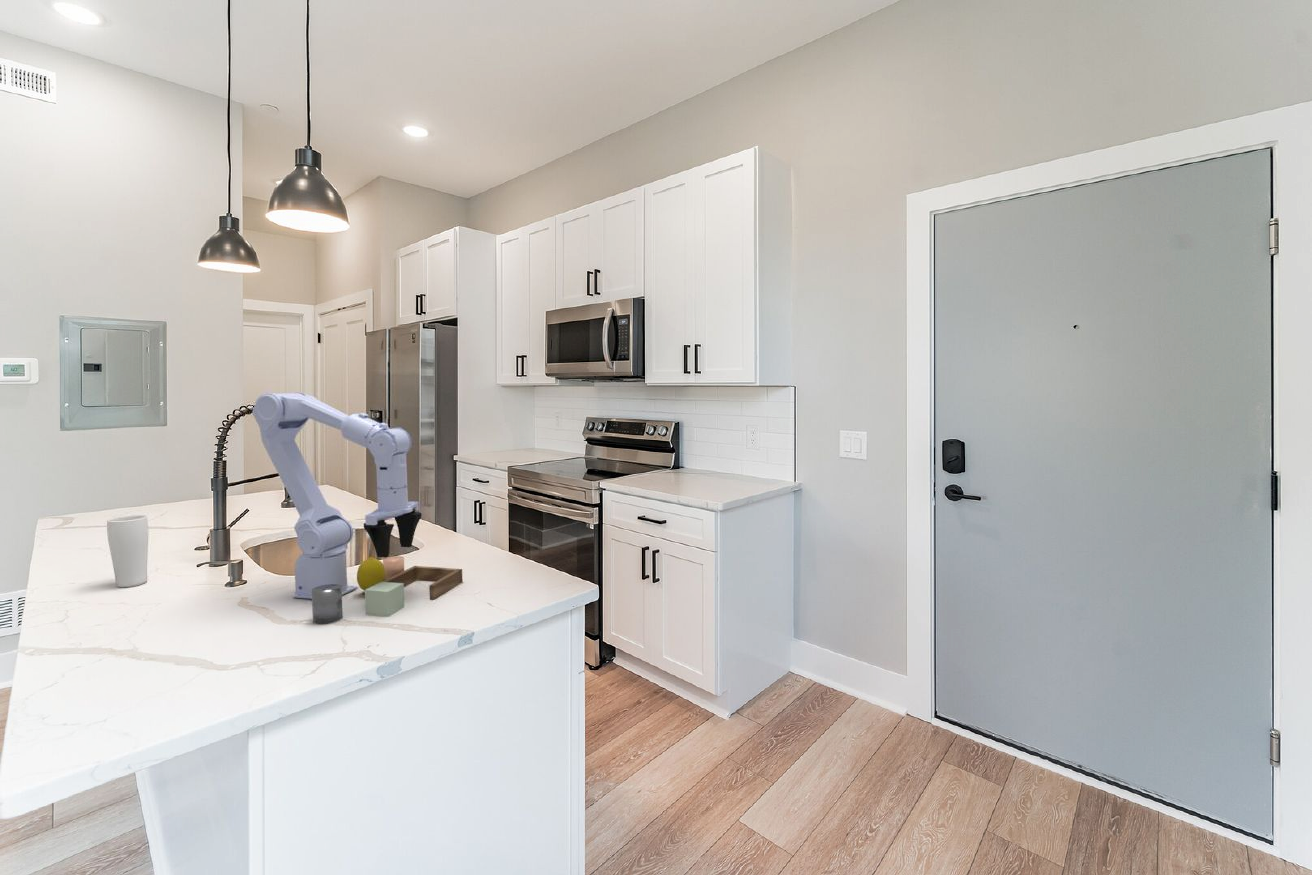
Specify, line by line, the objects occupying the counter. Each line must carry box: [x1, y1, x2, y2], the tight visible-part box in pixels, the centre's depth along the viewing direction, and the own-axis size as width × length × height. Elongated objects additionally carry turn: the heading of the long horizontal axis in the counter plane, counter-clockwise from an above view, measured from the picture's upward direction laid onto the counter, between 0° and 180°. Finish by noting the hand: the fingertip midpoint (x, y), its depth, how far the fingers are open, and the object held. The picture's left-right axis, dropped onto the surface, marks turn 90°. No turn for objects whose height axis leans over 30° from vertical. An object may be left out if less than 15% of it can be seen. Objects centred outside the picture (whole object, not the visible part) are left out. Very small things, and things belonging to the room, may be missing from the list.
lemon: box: [356, 556, 386, 592], centre depth 127 cm, size 6×6×8 cm
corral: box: [383, 565, 463, 601], centre depth 131 cm, size 12×12×3 cm
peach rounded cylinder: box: [382, 555, 405, 580], centre depth 136 cm, size 4×4×5 cm
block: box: [364, 582, 405, 617], centre depth 118 cm, size 5×5×5 cm
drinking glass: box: [106, 514, 149, 588], centre depth 132 cm, size 7×7×15 cm
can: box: [311, 584, 344, 625], centre depth 113 cm, size 5×5×6 cm
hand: (395, 551), depth 124 cm, fingers open, 7 cm apart
